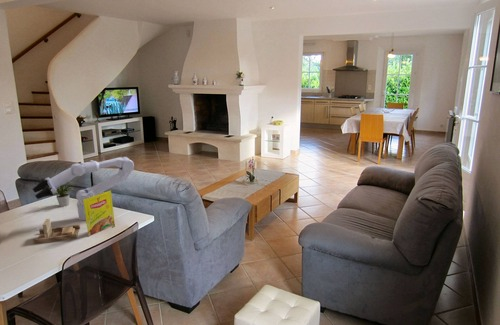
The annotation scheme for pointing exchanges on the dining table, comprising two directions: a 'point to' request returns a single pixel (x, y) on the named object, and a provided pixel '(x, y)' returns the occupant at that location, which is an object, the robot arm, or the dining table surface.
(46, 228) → the birch sheet
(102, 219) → the food package
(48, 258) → the dining table surface
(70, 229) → the oak offcut stack
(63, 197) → the house plant
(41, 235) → the walnut rack
